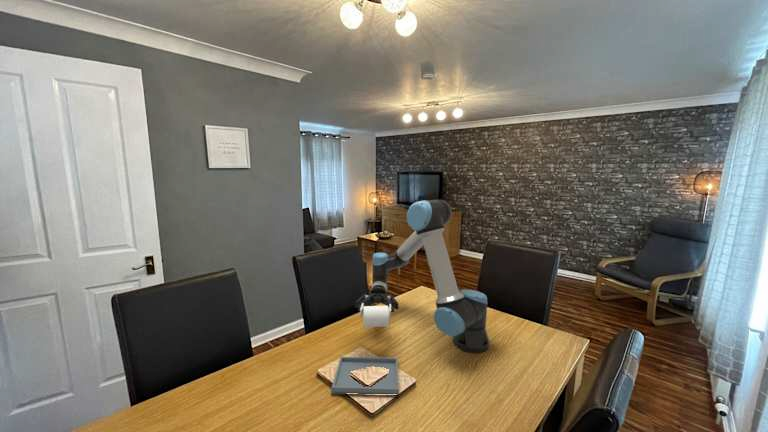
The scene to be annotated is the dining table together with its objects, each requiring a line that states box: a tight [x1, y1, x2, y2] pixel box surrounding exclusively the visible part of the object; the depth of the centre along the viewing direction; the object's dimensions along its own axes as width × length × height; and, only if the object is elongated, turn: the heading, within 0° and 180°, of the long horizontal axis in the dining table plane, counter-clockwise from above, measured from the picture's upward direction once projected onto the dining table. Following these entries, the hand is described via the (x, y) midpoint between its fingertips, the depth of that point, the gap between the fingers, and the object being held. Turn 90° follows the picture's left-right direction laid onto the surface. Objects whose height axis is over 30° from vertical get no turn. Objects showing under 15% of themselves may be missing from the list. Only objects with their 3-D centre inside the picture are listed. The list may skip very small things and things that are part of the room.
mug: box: [362, 305, 390, 328], centre depth 122 cm, size 12×10×8 cm
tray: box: [331, 355, 400, 396], centre depth 107 cm, size 22×17×2 cm
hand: (375, 313), depth 118 cm, fingers closed on mug, 11 cm apart
